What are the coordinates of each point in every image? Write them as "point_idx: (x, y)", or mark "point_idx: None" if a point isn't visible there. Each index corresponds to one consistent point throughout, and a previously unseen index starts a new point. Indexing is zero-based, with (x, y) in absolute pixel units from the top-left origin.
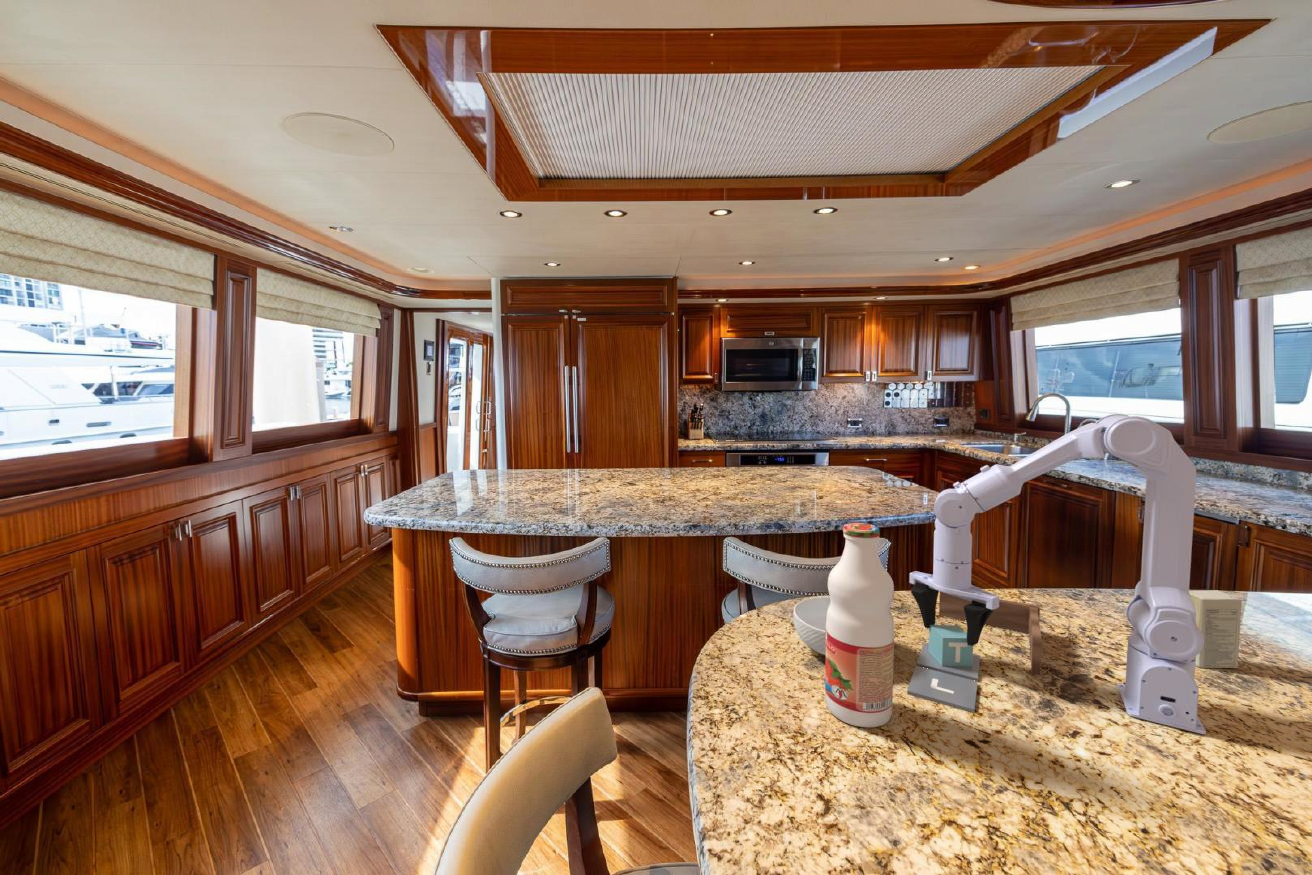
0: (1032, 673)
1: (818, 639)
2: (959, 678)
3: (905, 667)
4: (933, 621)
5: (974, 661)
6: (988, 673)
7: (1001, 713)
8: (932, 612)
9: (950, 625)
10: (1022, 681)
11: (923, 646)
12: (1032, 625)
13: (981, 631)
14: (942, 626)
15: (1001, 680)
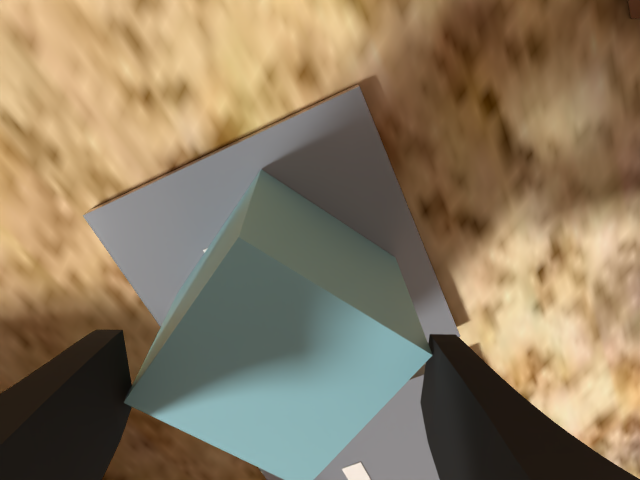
0: (636, 15)
1: None
2: (408, 393)
3: (214, 452)
4: (110, 369)
5: (374, 190)
6: (459, 217)
7: (595, 448)
8: (66, 429)
9: (206, 289)
10: (605, 152)
11: (121, 261)
12: None
13: (505, 381)
14: (189, 355)
15: (526, 230)
